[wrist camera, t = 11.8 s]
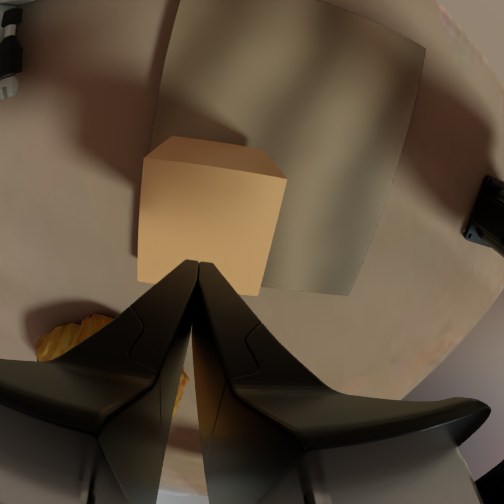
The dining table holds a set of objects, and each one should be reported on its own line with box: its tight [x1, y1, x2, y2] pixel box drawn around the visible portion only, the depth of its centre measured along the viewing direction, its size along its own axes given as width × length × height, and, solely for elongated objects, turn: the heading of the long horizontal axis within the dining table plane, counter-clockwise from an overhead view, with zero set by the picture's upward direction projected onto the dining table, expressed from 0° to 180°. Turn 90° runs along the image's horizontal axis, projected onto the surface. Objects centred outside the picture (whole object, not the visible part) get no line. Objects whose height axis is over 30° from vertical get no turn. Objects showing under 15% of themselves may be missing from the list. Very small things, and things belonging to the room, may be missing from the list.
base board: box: [149, 0, 426, 296], centre depth 18 cm, size 16×20×1 cm
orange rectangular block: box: [138, 136, 287, 296], centre depth 14 cm, size 5×5×7 cm
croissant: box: [36, 313, 190, 419], centre depth 24 cm, size 14×16×8 cm
